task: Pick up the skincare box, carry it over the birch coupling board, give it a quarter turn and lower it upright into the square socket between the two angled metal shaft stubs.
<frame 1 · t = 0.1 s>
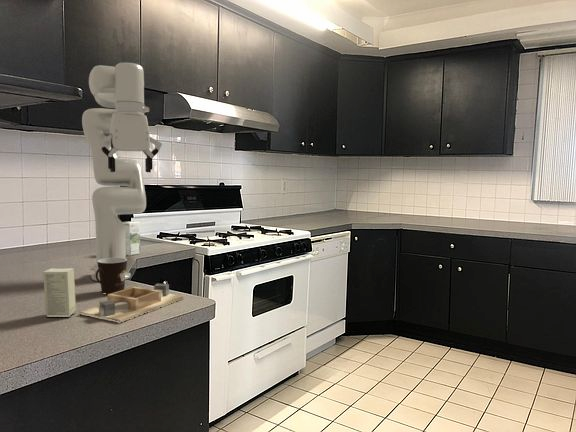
hand: (130, 172, 133), 37 cm above the worktop, tool pointing down, fingers open, 9 cm apart
coffee mug: (108, 293, 145), on the worktop
coupling board: (134, 306, 131), on the worktop
syrup box: (131, 254, 209), on the worktop
skincare box: (60, 316, 123), on the worktop
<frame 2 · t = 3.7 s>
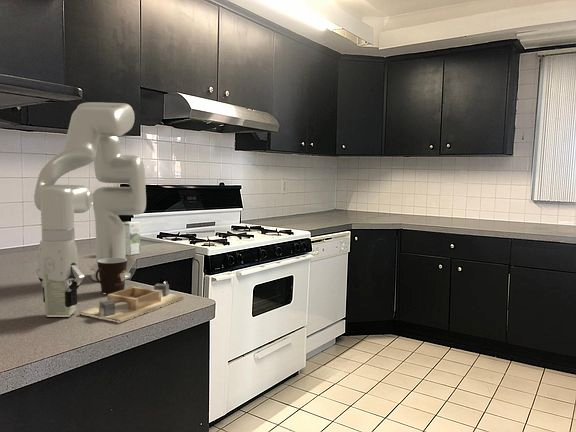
hand: (60, 303, 122), 3 cm above the worktop, tool pointing down, fingers closed on skincare box, 7 cm apart
skincare box: (60, 316, 123), on the worktop, touching gripper
everything else where it was.
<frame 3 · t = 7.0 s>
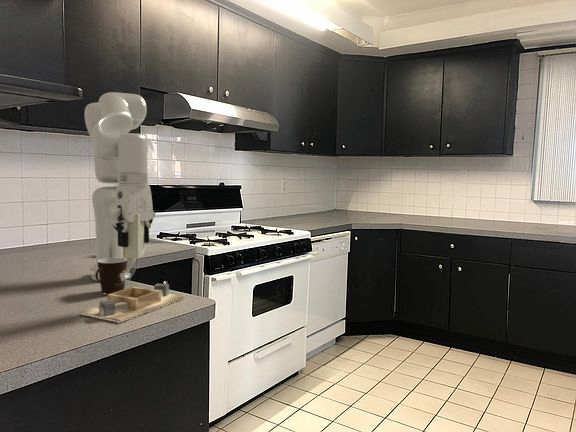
hand: (133, 244, 130), 18 cm above the worktop, tool pointing down, fingers closed on skincare box, 7 cm apart
skincare box: (134, 256, 130), point 14 cm above the worktop, touching gripper
everything else where it was.
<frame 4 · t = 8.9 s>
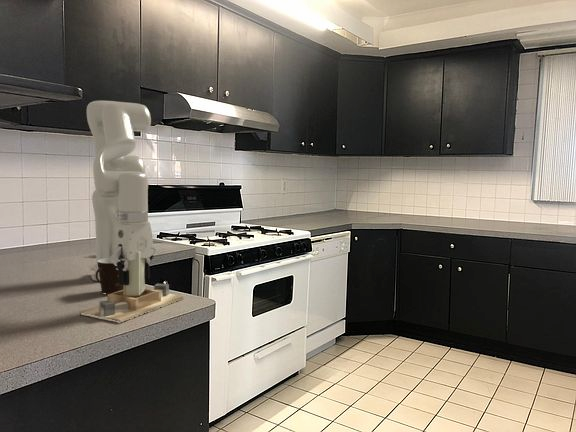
hand: (134, 281, 131), 7 cm above the worktop, tool pointing down, fingers closed on skincare box, 7 cm apart
skincare box: (134, 293, 131), point 4 cm above the worktop, touching gripper
everything else where it was.
when the fingers open (6 cm above the worktop, at t = 10.2 s): skincare box drops 2 cm, resting on coupling board.
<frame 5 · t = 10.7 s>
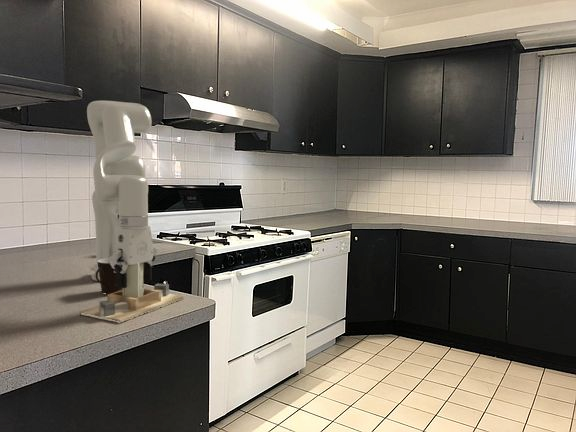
hand: (134, 283, 131), 7 cm above the worktop, tool pointing down, fingers open, 9 cm apart
skincare box: (133, 304, 131), point 1 cm above the worktop, touching coupling board
everything else where it was.
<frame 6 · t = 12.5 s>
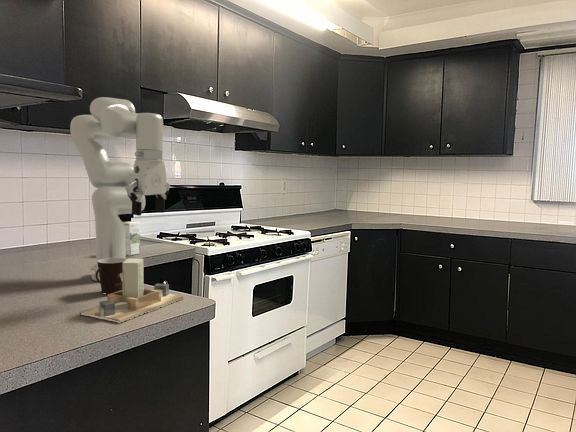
hand: (148, 213, 142), 25 cm above the worktop, tool pointing down, fingers open, 9 cm apart
nothing on the worktop moved.
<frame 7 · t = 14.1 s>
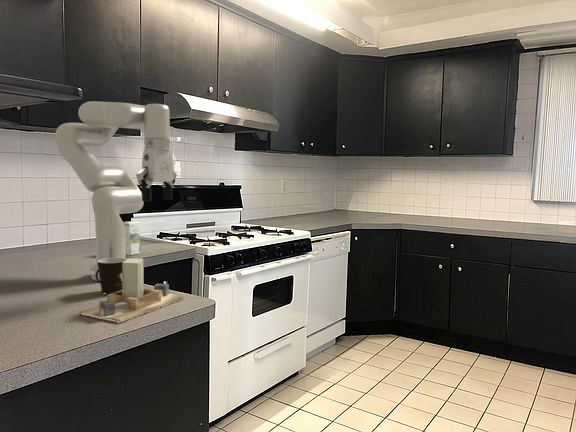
hand: (157, 200, 148), 28 cm above the worktop, tool pointing down, fingers open, 9 cm apart
nothing on the worktop moved.
at the end: skincare box inside the target area on the coupling board (0.3 cm from its centre), point 0.8 cm above the coupling board's base; skincare box tilted 0°; the gripper is holding nothing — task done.
